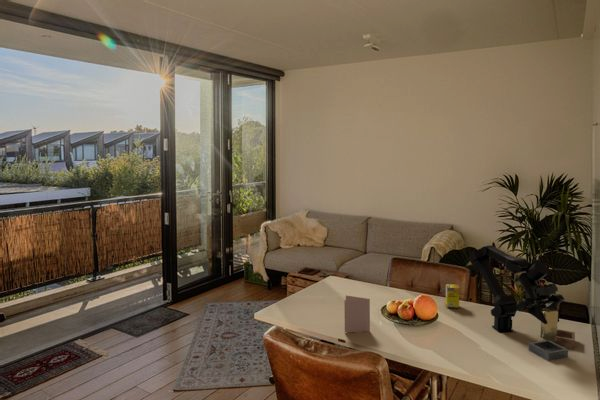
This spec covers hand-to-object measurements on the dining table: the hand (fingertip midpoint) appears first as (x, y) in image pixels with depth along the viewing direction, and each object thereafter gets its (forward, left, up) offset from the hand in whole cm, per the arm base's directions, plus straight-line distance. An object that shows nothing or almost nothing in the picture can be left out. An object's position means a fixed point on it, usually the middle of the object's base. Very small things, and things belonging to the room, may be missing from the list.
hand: (552, 322), depth 168 cm
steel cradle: (0, +1, -13) cm, 13 cm away
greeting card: (-70, +31, -13) cm, 78 cm away
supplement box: (-15, +55, -13) cm, 59 cm away
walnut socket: (+12, +10, -13) cm, 20 cm away
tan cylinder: (0, +1, -7) cm, 7 cm away
